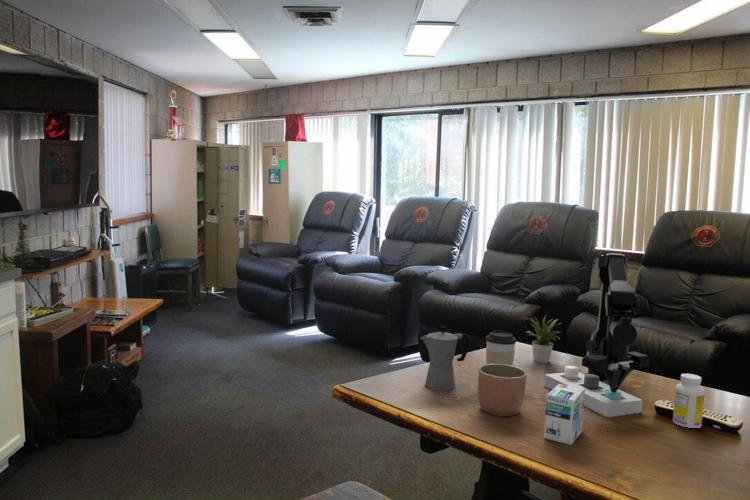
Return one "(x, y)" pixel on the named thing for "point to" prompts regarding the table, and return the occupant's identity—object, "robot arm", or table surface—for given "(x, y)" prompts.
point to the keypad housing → (598, 396)
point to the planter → (501, 389)
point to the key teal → (613, 395)
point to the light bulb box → (564, 414)
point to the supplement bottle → (689, 402)
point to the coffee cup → (500, 348)
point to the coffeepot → (443, 358)
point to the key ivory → (571, 373)
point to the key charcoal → (591, 381)
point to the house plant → (543, 341)
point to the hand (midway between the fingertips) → (613, 391)
